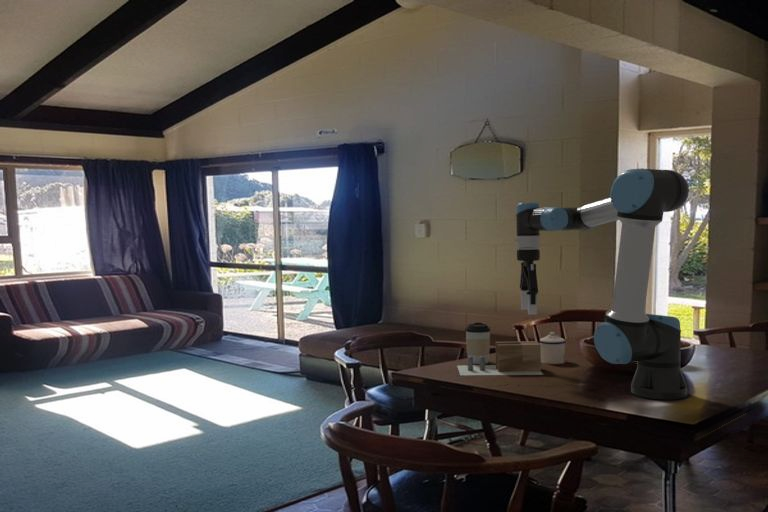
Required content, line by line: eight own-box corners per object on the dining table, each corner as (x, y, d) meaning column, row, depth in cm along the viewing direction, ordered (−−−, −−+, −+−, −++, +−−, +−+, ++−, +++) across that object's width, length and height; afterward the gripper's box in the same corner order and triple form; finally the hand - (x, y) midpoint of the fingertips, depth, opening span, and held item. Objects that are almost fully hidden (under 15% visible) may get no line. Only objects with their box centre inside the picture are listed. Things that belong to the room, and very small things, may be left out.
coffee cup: (490, 368, 237) (489, 325, 236) (464, 367, 238) (464, 325, 238) (491, 363, 245) (491, 322, 245) (466, 362, 247) (466, 322, 247)
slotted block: (540, 371, 224) (540, 344, 223) (498, 372, 224) (498, 345, 224) (536, 367, 231) (536, 341, 230) (495, 367, 231) (495, 341, 231)
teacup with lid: (570, 366, 237) (570, 333, 236) (546, 368, 235) (545, 334, 235) (555, 360, 249) (554, 328, 248) (532, 361, 247) (531, 330, 246)
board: (543, 378, 219) (543, 360, 219) (460, 378, 220) (460, 361, 220) (534, 368, 235) (534, 352, 235) (457, 368, 236) (456, 352, 236)
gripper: (511, 248, 238) (511, 307, 239) (523, 250, 213) (523, 316, 214) (532, 247, 238) (533, 307, 239) (547, 249, 213) (547, 316, 214)
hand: (528, 312), depth 226 cm, fingers open, 13 cm apart
